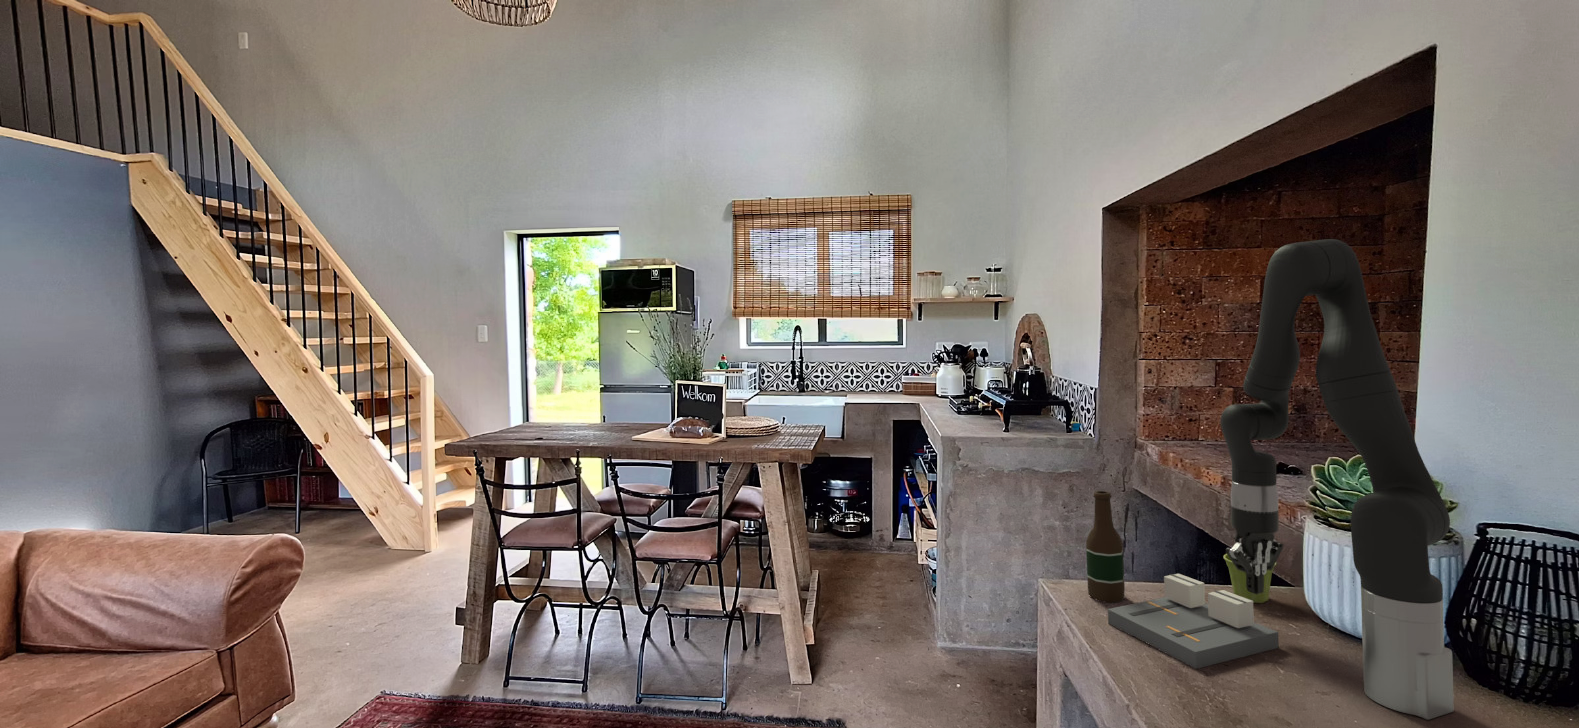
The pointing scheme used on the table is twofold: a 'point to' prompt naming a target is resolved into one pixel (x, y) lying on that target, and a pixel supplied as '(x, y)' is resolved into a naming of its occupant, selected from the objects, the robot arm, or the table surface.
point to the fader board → (1191, 632)
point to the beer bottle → (1104, 554)
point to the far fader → (1184, 590)
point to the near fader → (1230, 608)
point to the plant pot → (1240, 583)
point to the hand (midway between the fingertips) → (1255, 592)
